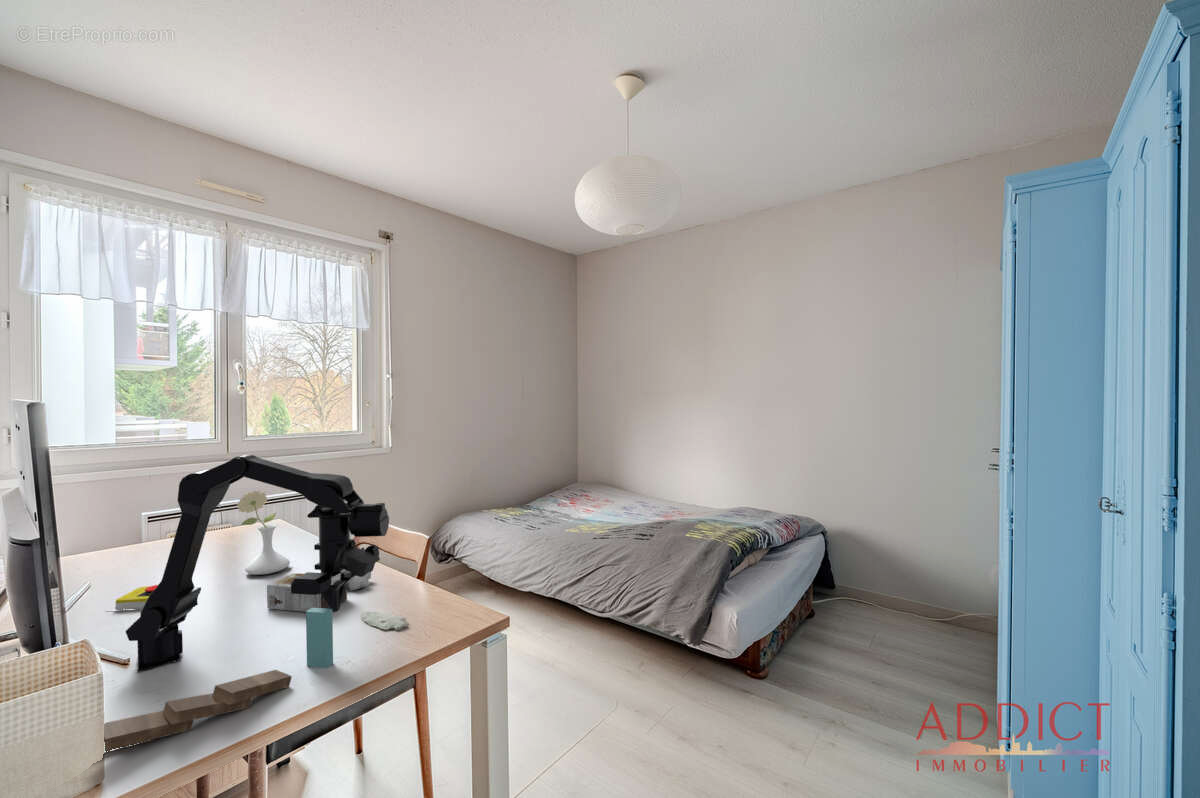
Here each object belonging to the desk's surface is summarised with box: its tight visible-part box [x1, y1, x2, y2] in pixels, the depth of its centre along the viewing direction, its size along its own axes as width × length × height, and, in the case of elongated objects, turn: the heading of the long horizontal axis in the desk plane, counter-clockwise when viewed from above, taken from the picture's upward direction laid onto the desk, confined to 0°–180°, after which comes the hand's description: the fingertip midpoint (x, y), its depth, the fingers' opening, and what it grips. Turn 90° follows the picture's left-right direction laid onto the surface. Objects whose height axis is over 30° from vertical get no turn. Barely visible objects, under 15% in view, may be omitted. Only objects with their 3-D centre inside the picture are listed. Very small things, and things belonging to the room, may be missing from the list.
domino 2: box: [162, 692, 253, 724], centre depth 85 cm, size 2×4×11 cm
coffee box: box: [266, 572, 348, 613], centre depth 130 cm, size 9×6×16 cm
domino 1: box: [104, 709, 195, 751], centre depth 79 cm, size 2×4×11 cm
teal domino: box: [305, 608, 334, 669], centre depth 102 cm, size 2×4×11 cm, turn 83°
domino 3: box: [212, 669, 292, 705], centre depth 90 cm, size 2×4×11 cm
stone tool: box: [360, 610, 409, 631], centre depth 120 cm, size 6×2×15 cm
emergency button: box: [114, 584, 159, 610], centre depth 132 cm, size 9×4×15 cm
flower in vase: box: [236, 490, 291, 576], centre depth 153 cm, size 13×11×25 cm
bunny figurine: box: [347, 572, 372, 592], centre depth 144 cm, size 10×5×15 cm
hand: (335, 611), depth 106 cm, fingers closed
